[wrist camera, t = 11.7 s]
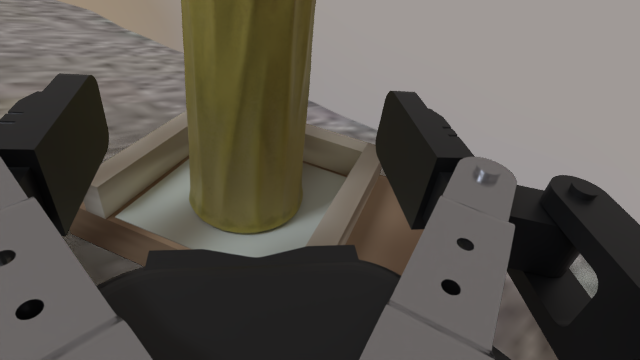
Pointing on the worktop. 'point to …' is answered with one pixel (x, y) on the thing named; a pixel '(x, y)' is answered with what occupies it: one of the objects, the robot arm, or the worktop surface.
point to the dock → (193, 233)
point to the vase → (246, 108)
